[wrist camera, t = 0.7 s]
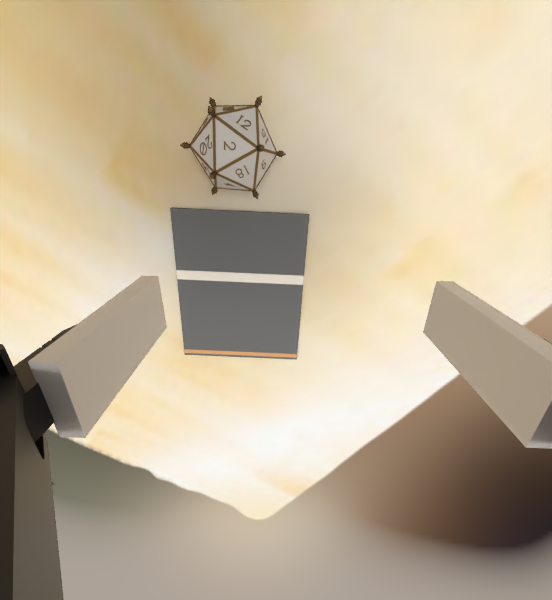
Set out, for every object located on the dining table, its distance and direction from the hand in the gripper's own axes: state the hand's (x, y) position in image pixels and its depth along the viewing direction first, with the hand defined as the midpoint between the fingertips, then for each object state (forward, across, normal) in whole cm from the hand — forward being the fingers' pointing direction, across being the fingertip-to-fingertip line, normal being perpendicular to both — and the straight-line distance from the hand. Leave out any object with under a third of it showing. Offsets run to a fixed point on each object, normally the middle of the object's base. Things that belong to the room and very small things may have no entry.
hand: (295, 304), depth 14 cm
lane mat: (+22, -6, -8) cm, 24 cm away
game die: (+22, -5, +8) cm, 24 cm away
